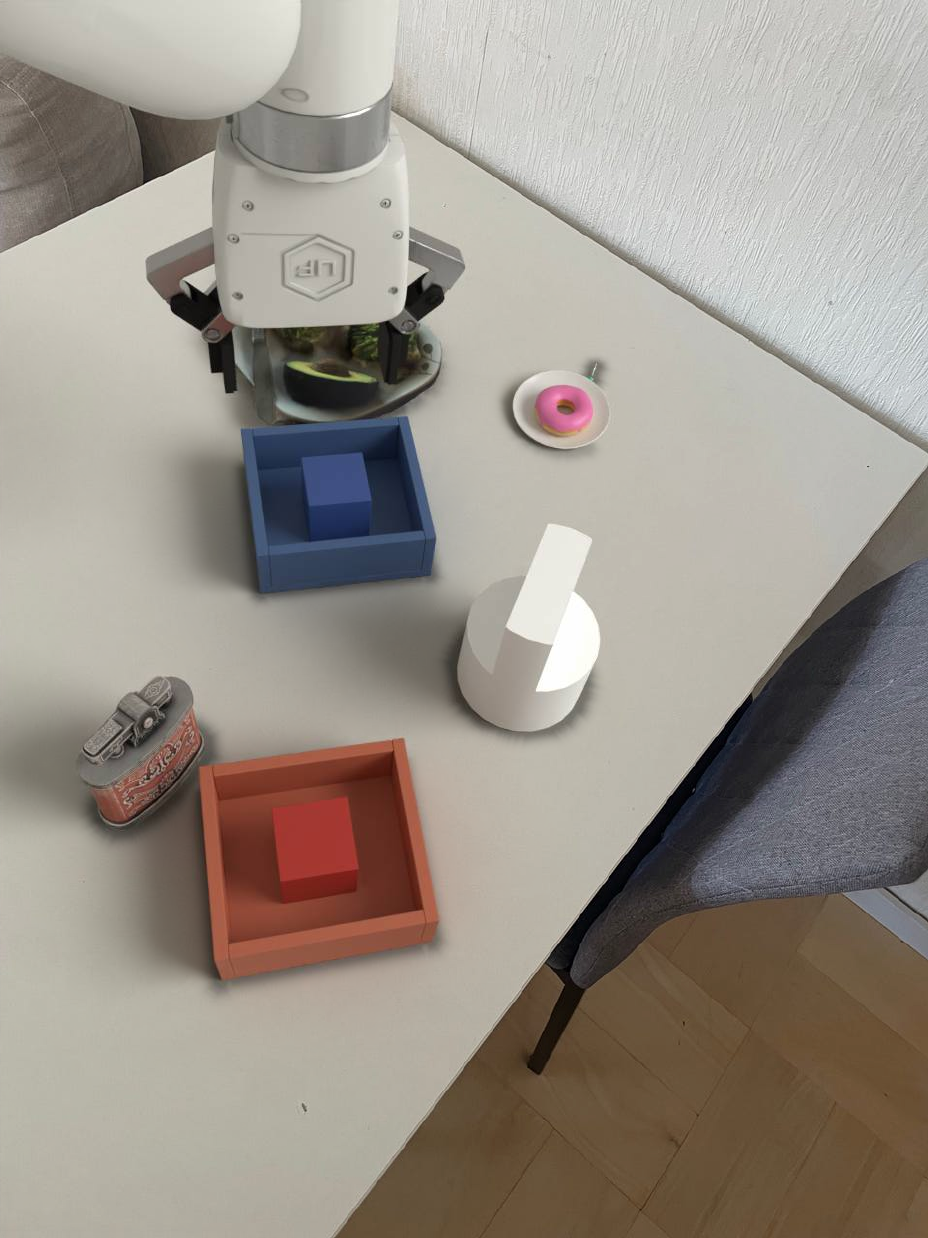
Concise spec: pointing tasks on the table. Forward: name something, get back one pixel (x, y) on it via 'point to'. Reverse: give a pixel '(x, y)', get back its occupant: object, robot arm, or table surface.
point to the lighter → (142, 752)
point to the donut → (561, 409)
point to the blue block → (335, 496)
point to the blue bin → (385, 554)
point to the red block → (315, 850)
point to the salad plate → (330, 371)
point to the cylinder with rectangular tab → (531, 639)
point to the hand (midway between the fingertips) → (309, 372)
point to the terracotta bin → (248, 868)
